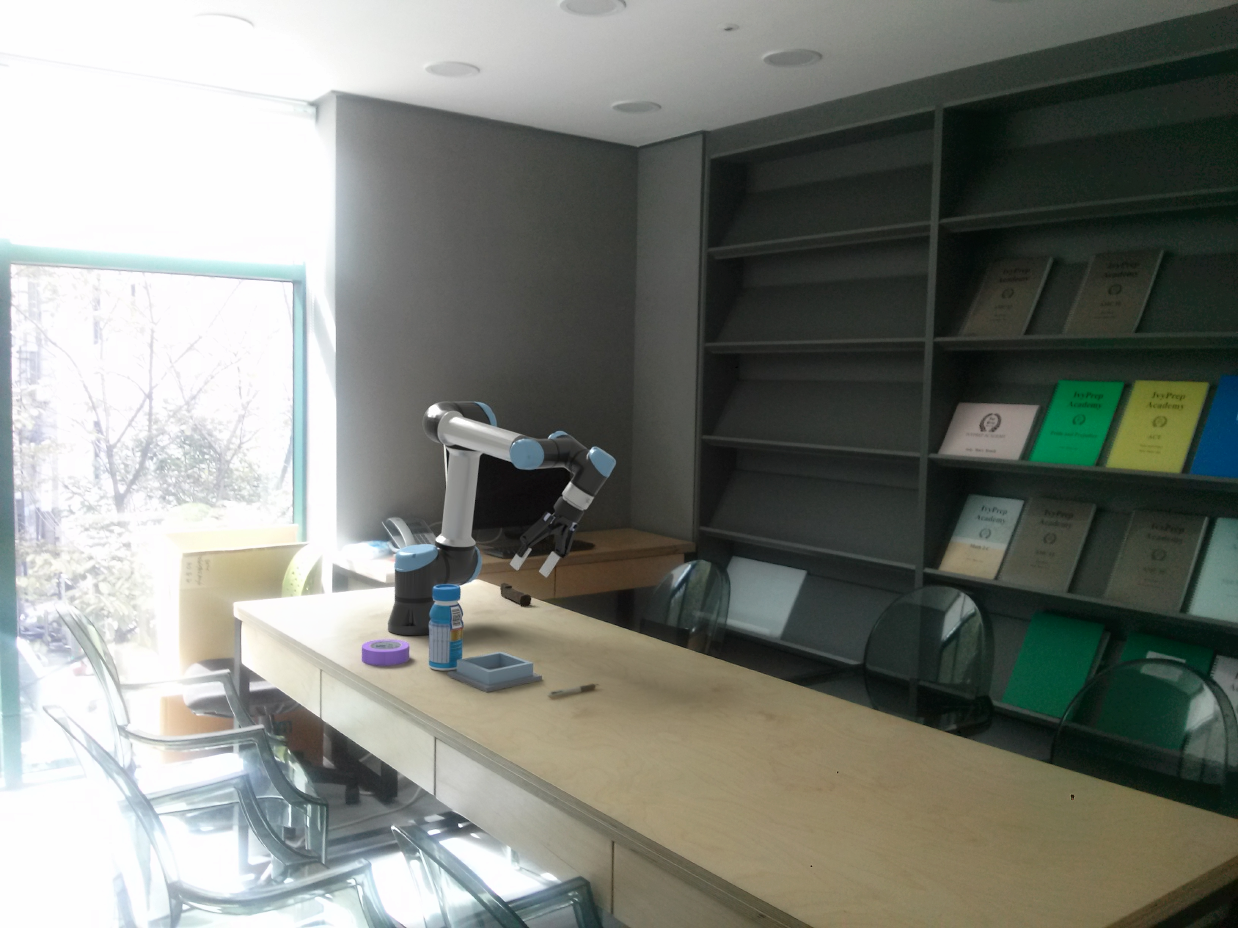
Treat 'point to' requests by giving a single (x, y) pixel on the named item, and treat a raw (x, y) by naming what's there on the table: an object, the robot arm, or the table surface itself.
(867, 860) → the table surface
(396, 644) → the masking tape
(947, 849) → the table surface
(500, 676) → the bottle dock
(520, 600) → the hand tool
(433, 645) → the beverage bottle
